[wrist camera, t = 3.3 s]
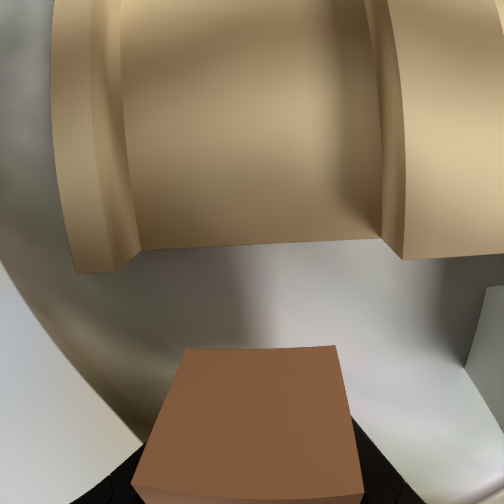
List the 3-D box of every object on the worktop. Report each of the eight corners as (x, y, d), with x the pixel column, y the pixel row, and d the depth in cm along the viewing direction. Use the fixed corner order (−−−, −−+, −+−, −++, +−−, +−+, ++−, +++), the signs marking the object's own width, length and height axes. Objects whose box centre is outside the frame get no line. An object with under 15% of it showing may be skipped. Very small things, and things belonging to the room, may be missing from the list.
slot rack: (586, 225, 9) (621, 242, 7) (117, 243, 12) (76, 273, 9) (567, 11, 6) (600, 3, 3) (102, -32, 8) (65, -60, 5)
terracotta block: (326, 436, 10) (335, 551, 6) (209, 437, 11) (183, 546, 6) (335, 345, 9) (364, 492, 4) (186, 348, 9) (130, 483, 5)
